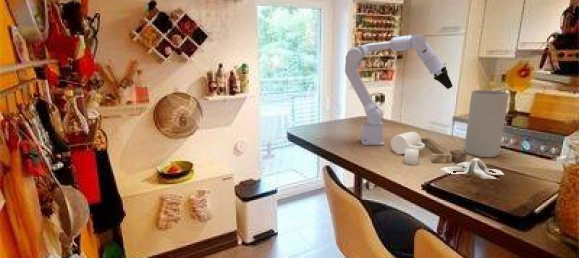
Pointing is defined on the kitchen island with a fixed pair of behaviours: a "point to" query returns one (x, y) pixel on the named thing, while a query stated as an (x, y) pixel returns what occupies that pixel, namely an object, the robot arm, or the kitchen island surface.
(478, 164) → the cloth
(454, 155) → the walnut block
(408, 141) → the mug
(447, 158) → the dock
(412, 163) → the small white cylinder
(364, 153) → the kitchen island surface
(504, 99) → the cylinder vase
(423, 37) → the robot arm
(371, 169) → the kitchen island surface
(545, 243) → the kitchen island surface
